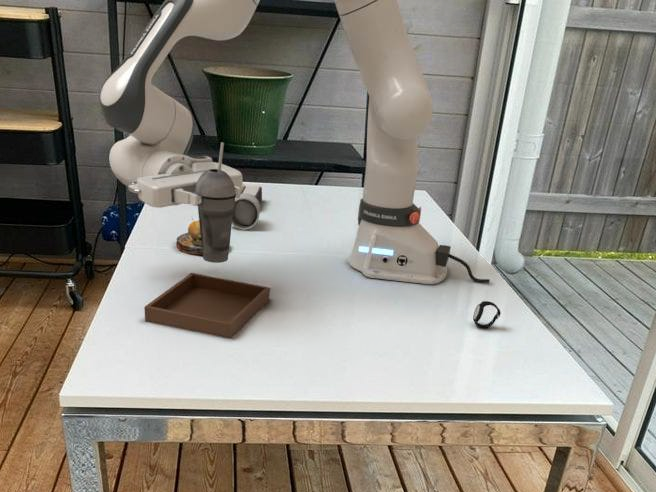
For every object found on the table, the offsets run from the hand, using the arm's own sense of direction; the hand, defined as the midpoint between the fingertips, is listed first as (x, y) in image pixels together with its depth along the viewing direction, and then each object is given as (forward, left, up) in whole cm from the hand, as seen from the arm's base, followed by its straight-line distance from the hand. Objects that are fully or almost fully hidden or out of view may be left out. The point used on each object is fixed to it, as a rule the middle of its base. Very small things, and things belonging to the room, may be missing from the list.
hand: (218, 197), depth 133 cm
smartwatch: (-49, -17, -22) cm, 56 cm away
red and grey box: (+26, -70, -22) cm, 78 cm away
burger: (+18, -33, -22) cm, 44 cm away
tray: (+2, 0, -21) cm, 22 cm away
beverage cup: (+1, 0, -11) cm, 11 cm away
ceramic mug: (+17, -53, -22) cm, 60 cm away
